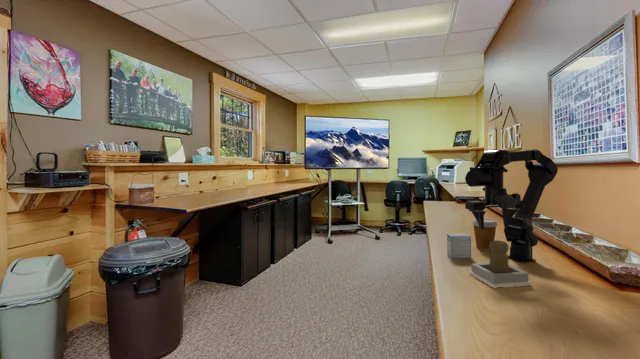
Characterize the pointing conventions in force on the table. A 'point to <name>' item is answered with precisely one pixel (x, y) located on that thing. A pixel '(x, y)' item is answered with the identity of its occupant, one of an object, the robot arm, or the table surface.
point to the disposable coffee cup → (484, 233)
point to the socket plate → (500, 276)
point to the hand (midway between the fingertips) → (494, 228)
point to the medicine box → (459, 245)
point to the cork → (498, 257)
